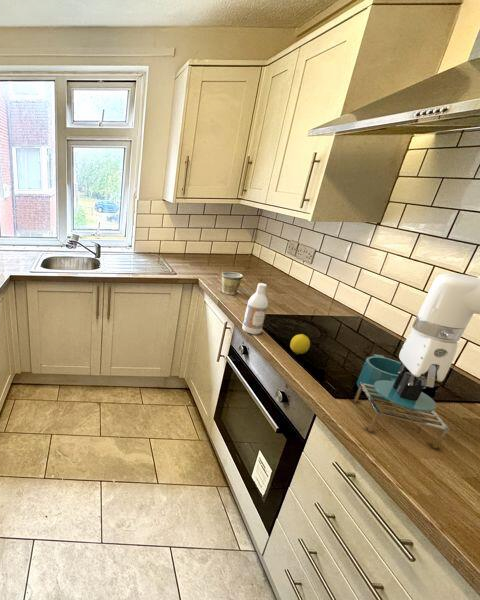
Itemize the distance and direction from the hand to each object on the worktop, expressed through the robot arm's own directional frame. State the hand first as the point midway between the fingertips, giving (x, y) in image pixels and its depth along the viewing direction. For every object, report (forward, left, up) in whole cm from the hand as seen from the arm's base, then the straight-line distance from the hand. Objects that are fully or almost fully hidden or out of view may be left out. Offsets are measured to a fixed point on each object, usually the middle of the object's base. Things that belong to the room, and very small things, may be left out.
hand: (404, 393), depth 78 cm
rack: (0, 0, -9) cm, 9 cm away
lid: (0, 0, -1) cm, 1 cm away
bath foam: (+31, -41, -9) cm, 52 cm away
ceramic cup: (+39, -84, -9) cm, 93 cm away
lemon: (+17, -28, -9) cm, 34 cm away
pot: (-2, -15, -9) cm, 18 cm away
